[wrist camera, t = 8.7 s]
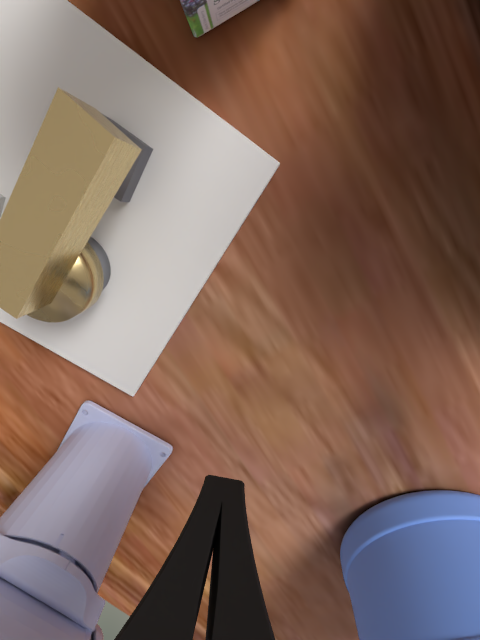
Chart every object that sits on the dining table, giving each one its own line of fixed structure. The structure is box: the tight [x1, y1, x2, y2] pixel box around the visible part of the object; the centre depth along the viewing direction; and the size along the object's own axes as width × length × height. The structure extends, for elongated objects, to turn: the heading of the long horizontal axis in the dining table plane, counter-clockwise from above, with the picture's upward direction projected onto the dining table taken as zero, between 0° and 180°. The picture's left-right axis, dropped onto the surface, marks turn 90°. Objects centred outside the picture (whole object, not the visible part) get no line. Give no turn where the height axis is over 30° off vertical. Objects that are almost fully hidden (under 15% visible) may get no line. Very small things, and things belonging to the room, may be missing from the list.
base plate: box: [0, 0, 280, 397], centre depth 16 cm, size 18×18×2 cm
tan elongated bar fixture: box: [0, 87, 142, 323], centre depth 13 cm, size 5×11×4 cm, turn 139°
